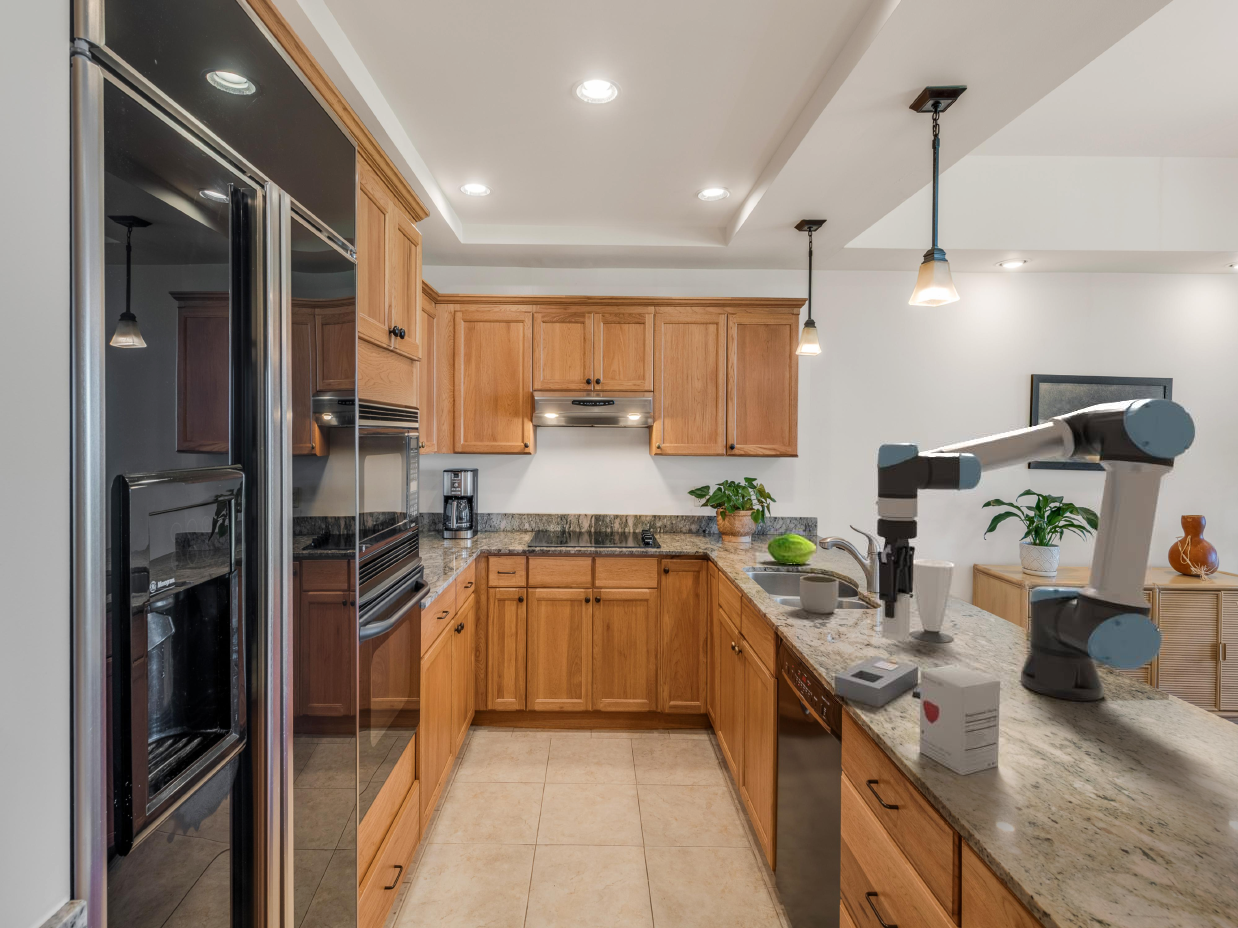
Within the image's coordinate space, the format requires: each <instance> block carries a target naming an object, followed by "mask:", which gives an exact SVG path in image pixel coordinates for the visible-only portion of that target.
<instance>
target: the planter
mask: <svg viewBox="0 0 1238 928" xmlns="http://www.w3.org/2000/svg"><path fill="white" fill-rule="evenodd" d="M799 601H800V604H801V607H802V609H804V611H806V612H807V613H808V612H809V613H811V614H819V615H826V614H828V615H829V614H831V613H833V612H834V611H835V610H836V609H837V606H838V602H839V579H837V578H836V577H831V576H826V575H813V574H812V575H803V576H800V577H799Z"/></svg>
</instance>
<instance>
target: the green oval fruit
mask: <svg viewBox="0 0 1238 928" xmlns="http://www.w3.org/2000/svg"><path fill="white" fill-rule="evenodd" d="M766 549H767V551H768V554H769V555H770V556H771V557H772V558H773V559H774V561H776V562H779V563H780V564H782V563H792V564H794V563H795V564H801V565H804V564H805V563H806V562H808V561H809V560H810V558H811V557H812V556H813V555H814V553H816V552H817V546H816V545H815V544H814V543H813V542H811V541H809V540H808V539H807V538H804V537H803V536H800V535H797V534H793V533H791V534H788V533H787V534H784V535H782V536H777V537H774V538H772V539H771V540H770V541H769V543H768V545H767V547H766ZM803 563H804V564H803Z"/></svg>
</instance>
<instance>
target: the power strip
mask: <svg viewBox="0 0 1238 928" xmlns="http://www.w3.org/2000/svg"><path fill="white" fill-rule="evenodd" d="M918 683H919V666H918V665H913V664H911V663H907V662H903V661H898V660H896V659H895V660H894V659H890V658H887V657H882V656H878V655H874V656H872V657H870V658H869V659H866V660H863V661H862V662H859V663H858V664H855V665H854V666H852V667H850V668H848V669H846V670H843V671H841V672H840V673H837V674H836V675H834V691H833V692H834V695H837V696H840V697H844V698H846V699H850V700H853V701H857V702H859V703H863V704H867V705H869V706H873V707H876V708H881V707H882V706H885V705H886V704H888V703H889V702H891V701H892V700H894V699H895V698H897V697H898V696H900V695H902V694H903V693H905V692H907V691H908V690H910V689H912V688H913V687H916V686H917V685H918Z"/></svg>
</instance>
